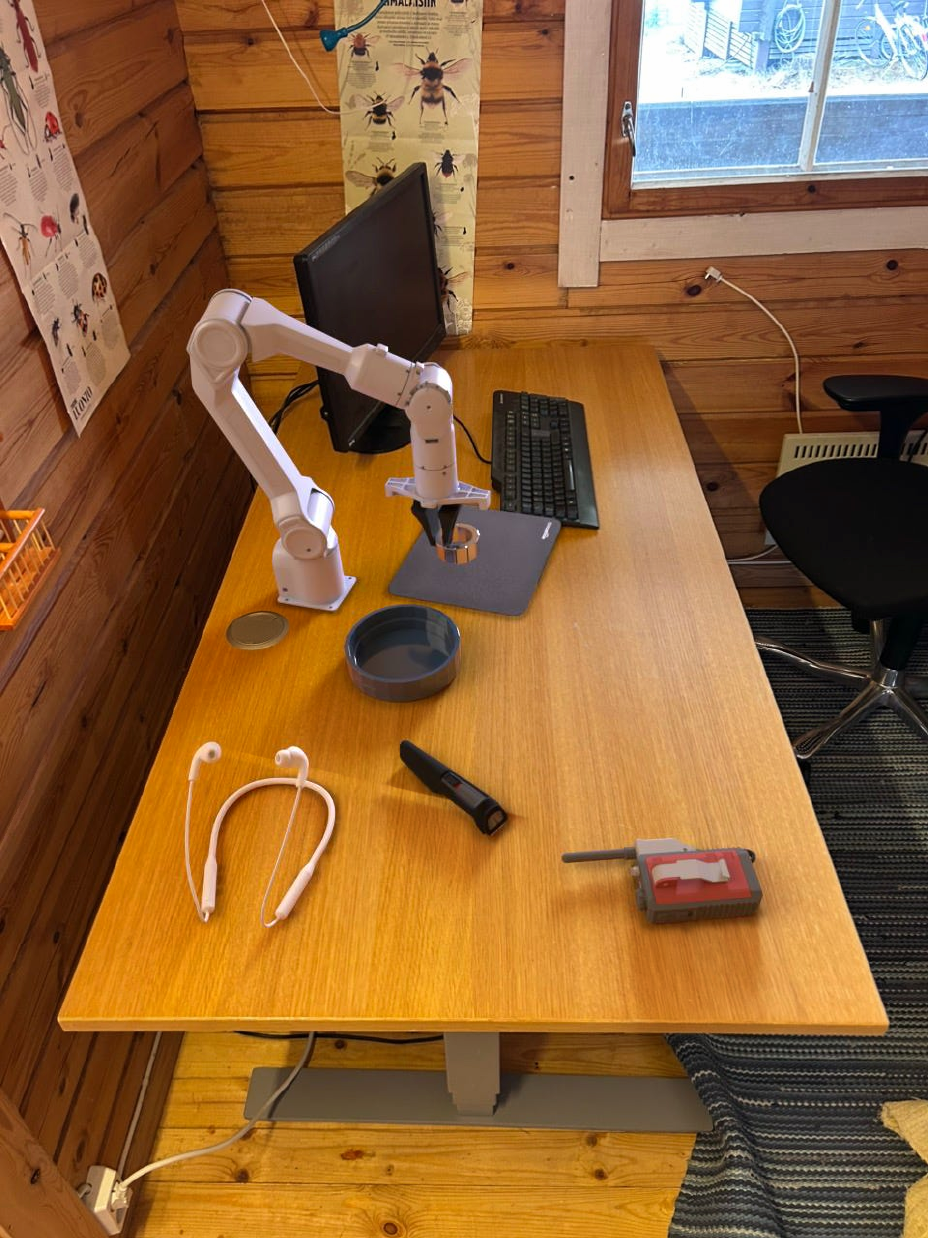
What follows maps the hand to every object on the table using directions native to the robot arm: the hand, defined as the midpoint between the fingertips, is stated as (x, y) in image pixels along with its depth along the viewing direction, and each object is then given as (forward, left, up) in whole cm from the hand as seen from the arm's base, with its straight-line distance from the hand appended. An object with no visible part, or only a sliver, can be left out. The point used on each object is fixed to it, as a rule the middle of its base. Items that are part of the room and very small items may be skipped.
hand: (441, 542), depth 122 cm
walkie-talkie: (+37, -41, -8) cm, 56 cm away
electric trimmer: (+13, -36, -8) cm, 39 cm away
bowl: (0, -17, -8) cm, 19 cm away
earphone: (-4, -49, -8) cm, 49 cm away
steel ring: (+2, 0, -1) cm, 3 cm away
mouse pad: (+3, +8, -8) cm, 12 cm away
